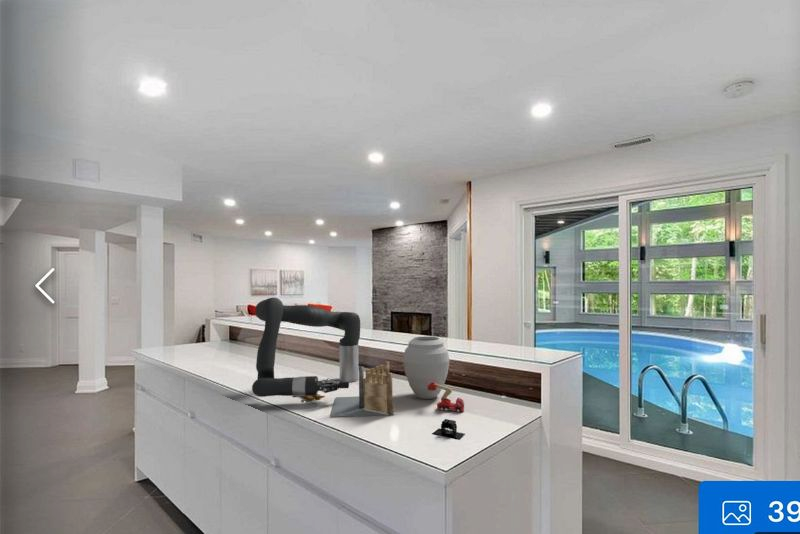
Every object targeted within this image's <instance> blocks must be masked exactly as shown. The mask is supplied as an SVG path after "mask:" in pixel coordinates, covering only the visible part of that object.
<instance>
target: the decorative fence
mask: <svg viewBox="0 0 800 534" xmlns="http://www.w3.org/2000/svg"><path fill="white" fill-rule="evenodd" d="M292 397H293V398H298V396H292ZM302 397H303V398H305V399H301V402H302V401H303V402H302V403H305V402H304V401H306V402H309V401H308V400H310V402H311V401H314V399H315V400H319V399H323V398H325V397H326V395H321V394H319V393H317V395H316V396H302Z"/></svg>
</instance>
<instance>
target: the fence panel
mask: <svg viewBox="0 0 800 534" xmlns="http://www.w3.org/2000/svg"><path fill="white" fill-rule="evenodd" d="M367 372H370V373H371V381H372V373H377V374H382V383H383V375H387V373H390V361H386V360H385V361H384V362H383V364H380V365H379V366H378V365H377V366H374V367H370V369H369V368H367V369H365V374H366V373H367ZM365 381H366V377H364V406H365Z"/></svg>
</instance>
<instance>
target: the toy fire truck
mask: <svg viewBox="0 0 800 534" xmlns="http://www.w3.org/2000/svg"><path fill="white" fill-rule="evenodd" d="M436 388H440V389H441V390H444V391H445V392H444V393H443V395H442V396H441V398H440V401H438V402H437V403H436V409H437V410H440V411H446V412H448V411H453V412H457V413H460V412H461V413H463V412H465V401H464V399H462V398H460V397H457V398H456V400H455V402H452V401H451V399H449V398H448V397H449V396H450V395H451V393H452V392H453V390H452V388H450V387H447V386H445V385H444V386H442V385H439V384H437V382H434V383H430V384H429V385H428V390H432V391H435V390H436Z"/></svg>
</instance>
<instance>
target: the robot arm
mask: <svg viewBox="0 0 800 534" xmlns="http://www.w3.org/2000/svg"><path fill="white" fill-rule="evenodd" d="M254 313H255V316H256V318H258V319H259V320H260V321H262V322H264V330H263V334H262V336H261V339H260V343H259V345H258V348H257V353H256V362H255V363H256V365H255V369H256V371H257V379H256V380H255V381H254V382H253V383H252V386H251V391H252V393H253V394H254V395H255V396H257V397H260V398H262V397H264V398H265V397H273V396H274V397H275V396H280V397H281V396H282V397H283V396H284V397H290V396H292V397H293V396H299V397H303V396H312V397H313V396H316V395H317V394H319V392H322V393H324V394H327V393H332V392H335V391H338V390H339V389H349V387H350V383H352V382H353V383H354V382H357V381H359V340H360V337H361V318H360V316H359V314H358V313H356V312H352V311H351V312H349V311H330V310H327V309H325V308H322V307H319V306H314V305H308V304H307V305H306V304H300V305H299V304H298V305H284V304H283V301H282V300H281V299H279V298H278V297H268V298H267V299H264V300H261V301H260V302H258V303H257V304H256V305H255V307H254ZM282 322H284V323H289V324H294V325H300V326H307V327H313V328H314V327H315V328H316V327H317V328H320V327H331V328H335V329H338V330H341V331H343V332H344V335H343V337H341V338H339V380H338V379H335V378H333V379H332V378H327V379H322V380H319V378H318V376H317V375H312V376H311V375H310V376H309V375H307V376H296V377H294V376H293V377H281V378H280V377H279V378H277V377H275V362H276V350H277V344H278V343H277V342H278V337H279V332H280V327H281V323H282Z"/></svg>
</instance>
